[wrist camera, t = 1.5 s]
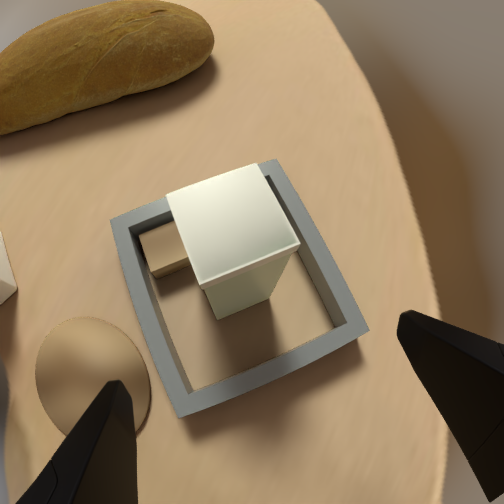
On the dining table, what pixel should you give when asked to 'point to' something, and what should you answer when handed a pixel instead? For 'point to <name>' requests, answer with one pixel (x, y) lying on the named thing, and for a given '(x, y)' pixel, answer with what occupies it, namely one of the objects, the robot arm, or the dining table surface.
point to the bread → (98, 58)
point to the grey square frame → (191, 401)
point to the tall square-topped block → (234, 237)
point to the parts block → (164, 250)
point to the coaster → (88, 369)
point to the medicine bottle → (5, 274)
